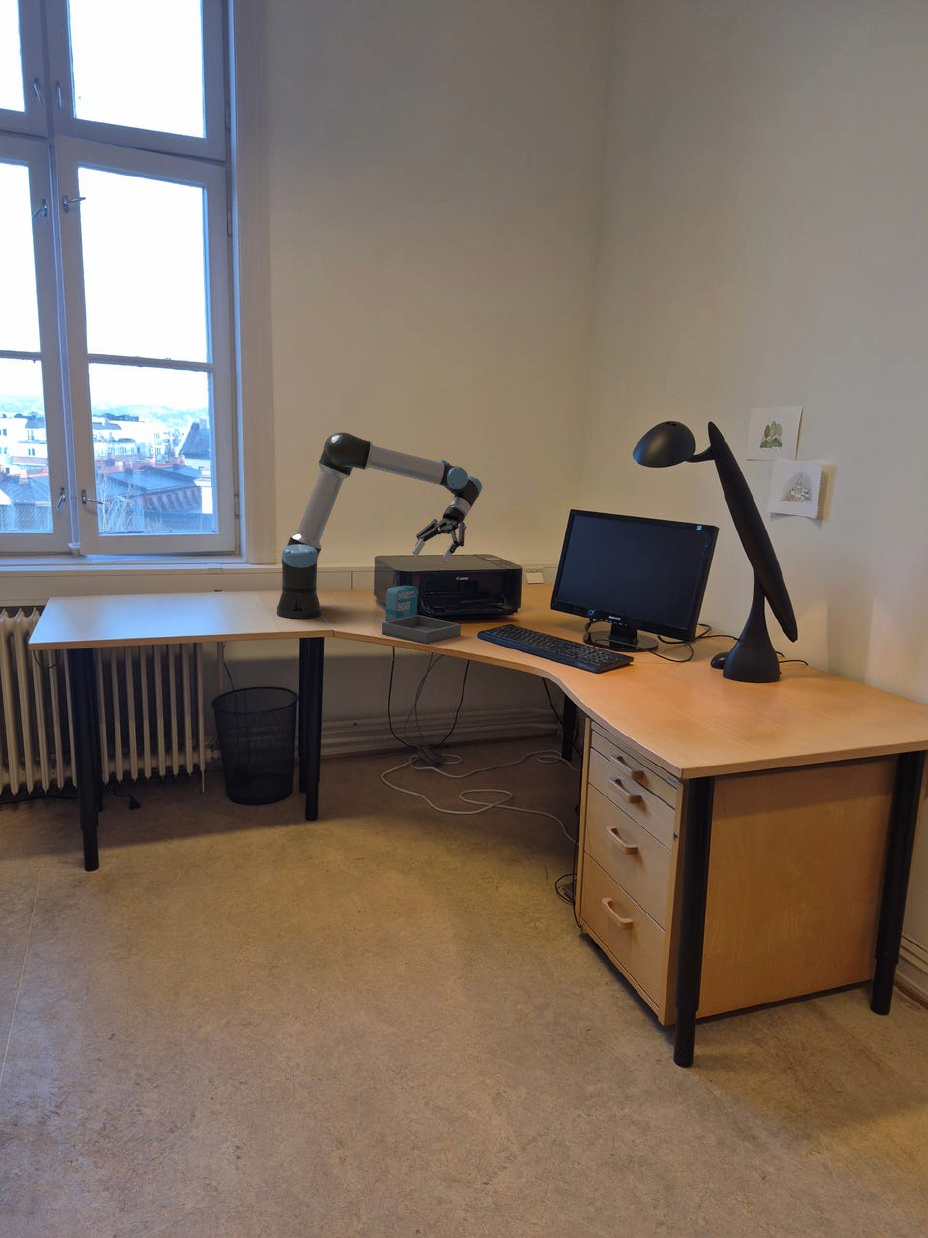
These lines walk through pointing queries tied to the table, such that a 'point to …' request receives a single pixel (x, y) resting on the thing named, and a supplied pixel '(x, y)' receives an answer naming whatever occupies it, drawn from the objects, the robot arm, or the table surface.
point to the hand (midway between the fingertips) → (429, 557)
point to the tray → (421, 629)
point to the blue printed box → (401, 602)
